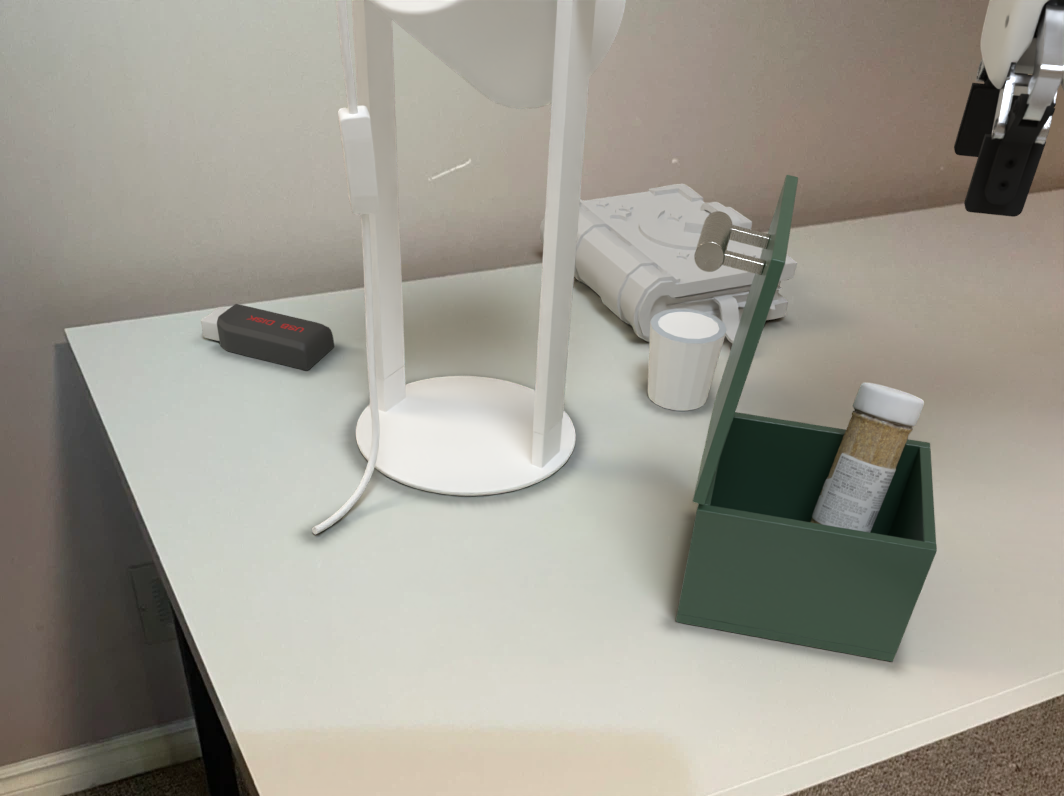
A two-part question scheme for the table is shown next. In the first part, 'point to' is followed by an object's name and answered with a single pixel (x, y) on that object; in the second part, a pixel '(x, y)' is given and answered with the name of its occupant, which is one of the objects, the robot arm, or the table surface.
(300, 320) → the usb drive
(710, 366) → the white cup
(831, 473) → the sprinkles bottle
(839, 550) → the green box
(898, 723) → the table surface
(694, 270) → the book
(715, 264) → the lid
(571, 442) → the desk lamp
